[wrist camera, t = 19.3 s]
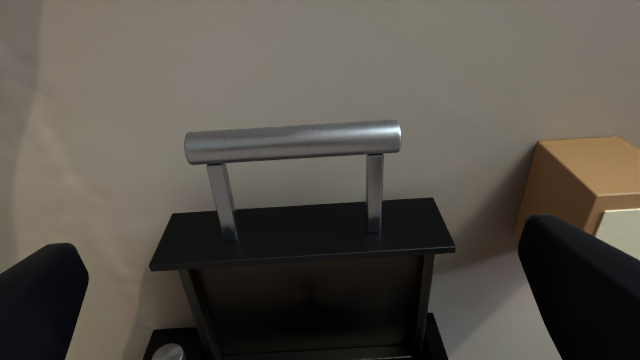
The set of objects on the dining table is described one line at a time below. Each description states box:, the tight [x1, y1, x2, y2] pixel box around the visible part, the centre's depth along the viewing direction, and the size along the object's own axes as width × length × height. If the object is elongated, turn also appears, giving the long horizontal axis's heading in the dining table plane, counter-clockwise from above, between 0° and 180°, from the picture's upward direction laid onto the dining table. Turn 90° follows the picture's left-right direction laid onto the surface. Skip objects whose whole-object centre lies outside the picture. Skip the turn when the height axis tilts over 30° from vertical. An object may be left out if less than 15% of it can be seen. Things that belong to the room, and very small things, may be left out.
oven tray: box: [149, 120, 456, 360], centre depth 22 cm, size 14×18×4 cm
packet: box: [513, 136, 640, 260], centre depth 21 cm, size 4×6×5 cm
